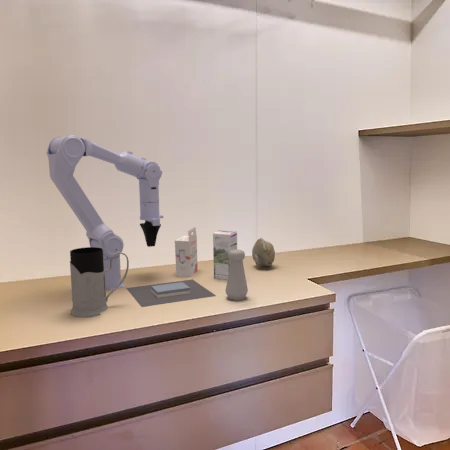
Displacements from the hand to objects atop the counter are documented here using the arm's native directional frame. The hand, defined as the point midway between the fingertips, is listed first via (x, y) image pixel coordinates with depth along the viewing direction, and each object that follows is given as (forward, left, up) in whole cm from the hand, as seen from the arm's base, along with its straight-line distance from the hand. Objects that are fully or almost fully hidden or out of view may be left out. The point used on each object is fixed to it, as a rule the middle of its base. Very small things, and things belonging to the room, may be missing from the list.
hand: (151, 246), depth 137 cm
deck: (0, -16, -9) cm, 18 cm away
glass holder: (-19, -23, -10) cm, 31 cm away
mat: (0, -18, -10) cm, 21 cm away
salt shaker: (+14, -31, -10) cm, 35 cm away
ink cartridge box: (+11, -1, -10) cm, 15 cm away
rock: (+37, -4, -10) cm, 39 cm away
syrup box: (+20, -11, -10) cm, 25 cm away
